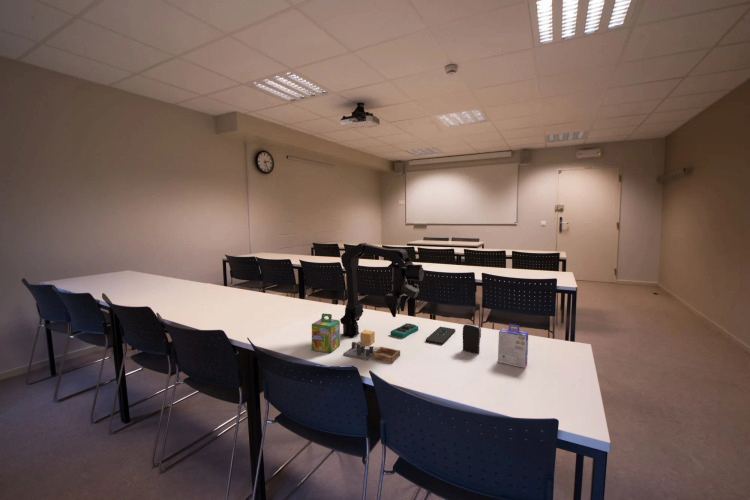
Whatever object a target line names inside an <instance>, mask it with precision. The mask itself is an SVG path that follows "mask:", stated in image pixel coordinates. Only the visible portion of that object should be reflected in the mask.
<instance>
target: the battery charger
mask: <svg viewBox="0 0 750 500" xmlns="http://www.w3.org/2000/svg"><path fill="white" fill-rule="evenodd" d="M481 338H482V328H481V326H480V325H479V324H474V323H469V322H468V323H465V324H464V325H463V326H462V352H463V351H464V352H466V353H471V354H477V355H479V354H480V350H481V349H480V348H481V347H480V344H481Z"/></svg>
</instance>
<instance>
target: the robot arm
mask: <svg viewBox="0 0 750 500" xmlns="http://www.w3.org/2000/svg"><path fill="white" fill-rule="evenodd" d="M364 254H367V255H371V256H376V257H381V258H385V259H386V260H387V261H389V262H391V263H390V264H389V265H388V266H387V268H391V269H392V280H390V284H391V287H392V288H391V290H390V292H389V293H387V294H385V295H384V296H383V302H384V303H385V304H386V306H387V307H388V310H389V311H390V313H391V316H392V318H396V316H397V310H398V306H399V308H400V311H401V312H404V311H405V308H406V305H407V302H408V300H409V299H410V298H411V299H416V298H417V297H418V294H419V293H420V289H419V284H416V283H415V284H413V285H412V284H411V285H410V284H409V281H417V282H422V281H423V280H424V278H425V277H424V276H425V271H424V268H423V264H421V263H420V264H414V263H413V262H412V260H411V258H410V256H409V253H408V251H407V250H406V249H404V248H387V247H383V246H378V245H372V244H370V243H367V242H363V243H358V244H357V245H356V246H355V247H353V248H351V249H350V250H347V251H346V252H343V253H342V254H341V256H340V260H341V265H342V267H343V269H344V271H345V278H346V281H345V282H346V294H347V295H346V296H347V302H346V306H345V307H344V309H345V310H344V315H342V317H341V318H340V319H339V321H340V325H341V324H342V330H343V331H342V333H340V337H341V336H342V337H347V338H350V339H351V338H354V337H356V336H358V335H359V334H360V331H359V325H358V324H359V323H358V321H360V318H361V317H362V316H363V313H365V311H364V305H363V303H360V301H359V297H358V296H359V293H358V277H357V269H358V267H359V263H360V259H361V257H362V256H364Z"/></svg>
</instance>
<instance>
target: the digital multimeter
mask: <svg viewBox="0 0 750 500" xmlns="http://www.w3.org/2000/svg"><path fill="white" fill-rule="evenodd" d="M418 331H419V325H416V324H413V323H407V322H406V323H405V324H402V325H401V326H398V327H397V328H394V329H391V330H390V336H391V337H394V338H398V339H406V338H407V337H408V336H410V335H412V334H414V333H416V332H418Z"/></svg>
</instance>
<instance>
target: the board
mask: <svg viewBox="0 0 750 500" xmlns="http://www.w3.org/2000/svg"><path fill="white" fill-rule="evenodd" d="M375 351H376V350H374V346H372V345H369V348H365V345H362V344H361V343H357V344H356V341H352V342H351V348H349V349H347V350H346V351H345V352H343V354H342V356H345V357H350V358H352V359H353V358H354V359H359V360H364V361H366V362H367V361H368V360H370V359H371V358H372V354H373V353H374V352H375Z"/></svg>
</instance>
